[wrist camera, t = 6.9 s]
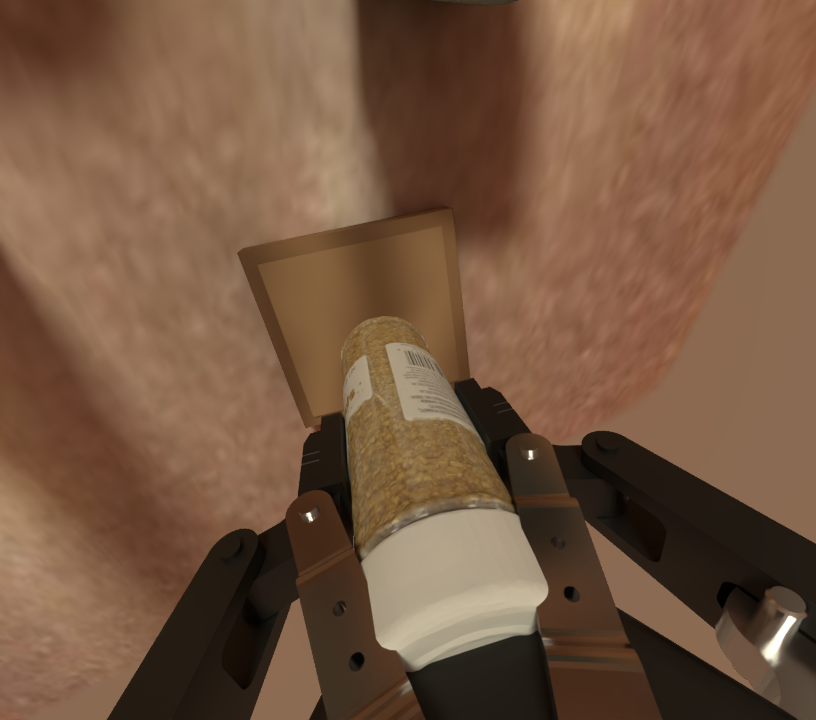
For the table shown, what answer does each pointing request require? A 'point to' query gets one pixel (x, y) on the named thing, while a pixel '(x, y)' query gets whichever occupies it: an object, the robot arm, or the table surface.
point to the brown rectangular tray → (357, 297)
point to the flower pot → (480, 1)
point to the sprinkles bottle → (429, 505)
